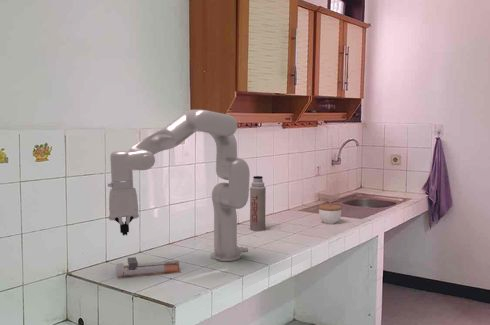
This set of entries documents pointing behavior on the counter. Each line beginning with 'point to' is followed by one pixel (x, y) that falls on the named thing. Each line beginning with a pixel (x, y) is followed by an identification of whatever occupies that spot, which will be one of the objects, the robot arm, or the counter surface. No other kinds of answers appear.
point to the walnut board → (147, 274)
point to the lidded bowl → (330, 213)
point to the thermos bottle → (257, 204)
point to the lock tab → (132, 262)
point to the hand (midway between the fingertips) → (124, 234)
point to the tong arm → (158, 264)
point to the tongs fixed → (145, 270)
